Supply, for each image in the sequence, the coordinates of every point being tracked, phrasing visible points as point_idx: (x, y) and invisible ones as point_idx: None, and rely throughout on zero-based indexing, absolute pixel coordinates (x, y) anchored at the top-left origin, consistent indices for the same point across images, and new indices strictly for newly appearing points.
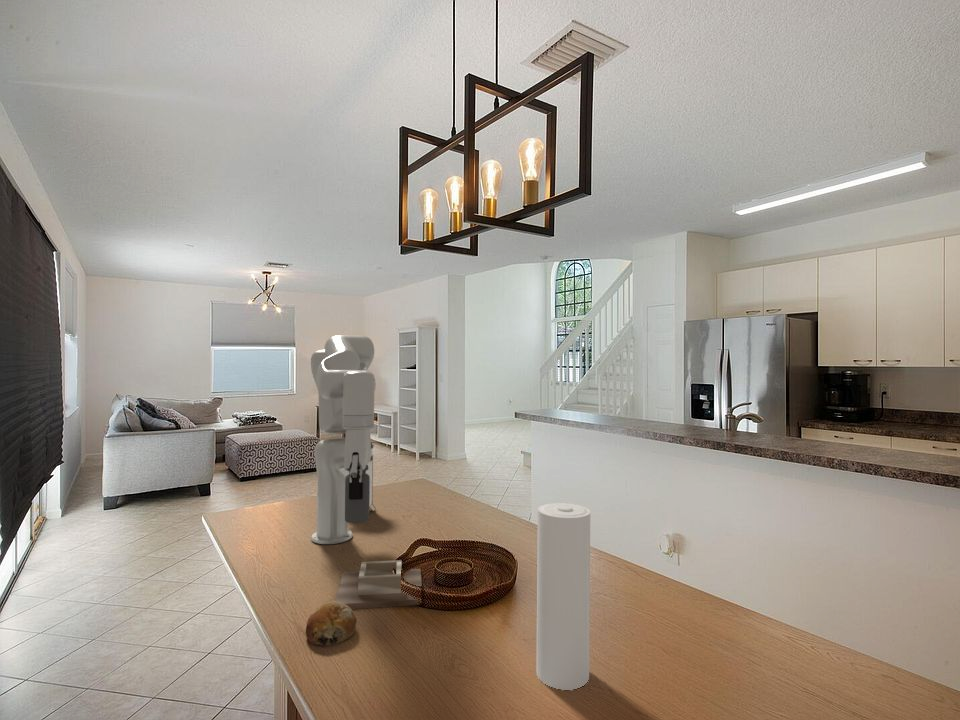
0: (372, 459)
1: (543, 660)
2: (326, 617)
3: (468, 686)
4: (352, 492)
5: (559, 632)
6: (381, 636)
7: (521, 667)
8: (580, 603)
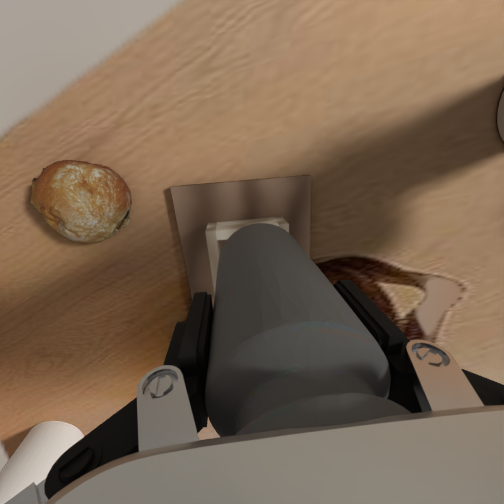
0: None
1: (18, 449)
2: (38, 204)
3: (9, 370)
4: (173, 335)
5: None
6: (97, 273)
7: (60, 410)
8: None
